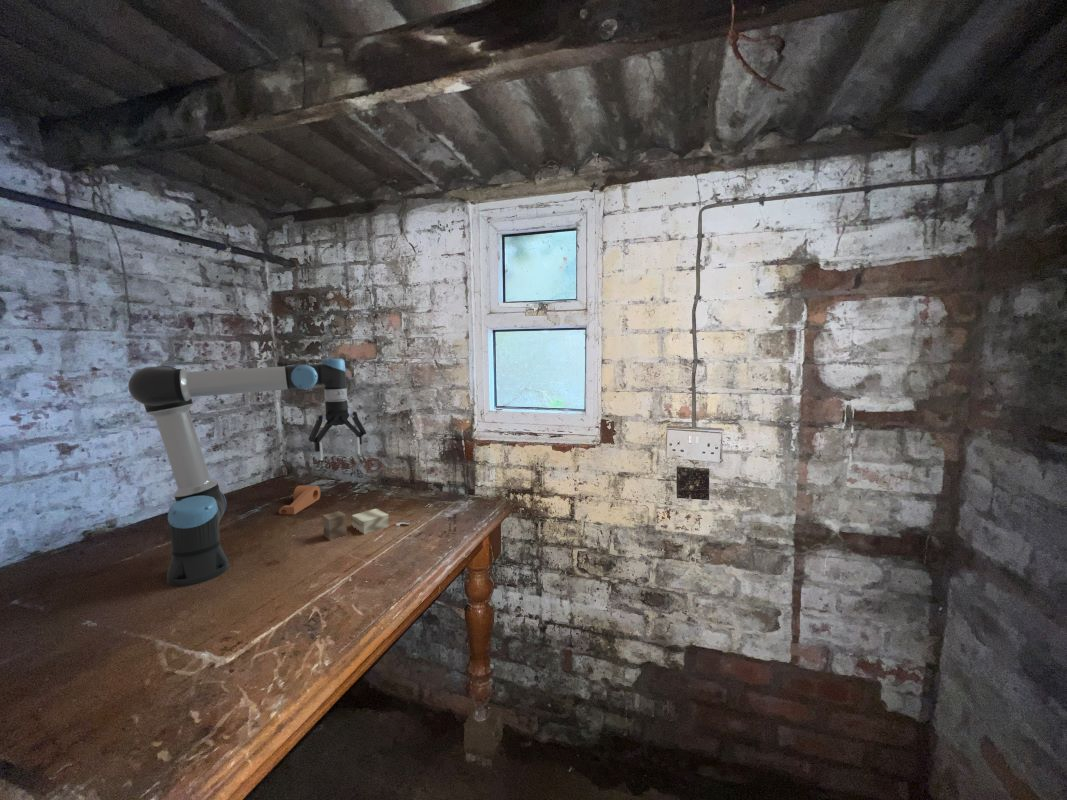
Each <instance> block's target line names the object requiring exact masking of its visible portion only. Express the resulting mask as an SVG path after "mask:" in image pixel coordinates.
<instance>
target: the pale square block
mask: <svg viewBox="0 0 1067 800" xmlns="http://www.w3.org/2000/svg"><path fill="white" fill-rule="evenodd" d="M389 518H390V517H389V514H388V513H386V512H385V511H382V510H380V509H378V508H374V509H373V508H372V509H369V510H366V511H362V512H359V513H354V514H352V515H351V523H352V524H351V525H352V526H353V527H352V528H354V529H355V528H356V530H357V531H358V530H359V531H358V532H360V533H362V534H364V535H366V534H369V532H370V533H372V532H376V531H379V530H381V529H385V528H388V527H390V519H389Z"/></svg>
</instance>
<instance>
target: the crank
mask: <svg viewBox="0 0 1067 800" xmlns="http://www.w3.org/2000/svg"><path fill="white" fill-rule="evenodd" d="M292 495H293V496H292V497H293V502H292V503H290V504H288V505H287V504H286V505H283V506H281V507H280V508H279V509H278V514H279V515H296V514H298V513H300V512H301V511H302V510H304V509H306V508H307V507H309V506H310V505H312V504H314V503H315V502H317V501H319V500H320V499H321V489H320V486H318V485H297V486H296V487H295V489H294V491H293V494H292Z"/></svg>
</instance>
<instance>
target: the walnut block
mask: <svg viewBox="0 0 1067 800" xmlns="http://www.w3.org/2000/svg"><path fill="white" fill-rule="evenodd" d="M322 522H323V523H322V524H323V536H324V535H325V536H326V537H327V538H328V539H327V538H326V537H325V536H324V537H325V538H326V539H327V540H328V541H330V540H331V541H333V540H332V539H334V540H337V539H336V538H338V539H340V538H339V537H341V538H343V536H344V537H347V536H348V534H347V533H348V530H347V529H348V527H347V515H346V514H345V513H344V512H342V511H340V510H338V511H333V512H330V513H326V514H323V515H322ZM346 535H347V536H346Z"/></svg>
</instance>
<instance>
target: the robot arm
mask: <svg viewBox="0 0 1067 800" xmlns="http://www.w3.org/2000/svg"><path fill="white" fill-rule="evenodd" d="M346 371H347V370H346V362H345V360H344V359H343V358H323V359H322V362H321V363H320V364H288V365H285V366H270V367H268V366H267V367H250V368H248V367H247V368H235V369H234V368H231V369H213V370H198V371H195V370H194V371H188V370H186V369H184V368H177V367H174V366H170V365H157V366H147V367H144V368H141V369H138V370H137V371H136V372H134V373H133V374H132V375H131V376H130V379H129V380H128V384H127V386H128V387H127V388H128V391H129V394H130V395H131V397H132V398H133V399H134V400H135V401H137V402H138V403H141V404H143V406H144V409H145V412H146V414H148V415H150V416H153V418H155V421H156V424H157V428H158V431H159V434H160V437H161V440H162V443H163V445H164V449H165V451H166V452H165V453H166V455H167V459H168V461H169V465H170V467H171V470H172V474H173V477H174V480H175V483H176V486H177V489H176V491H175V492H174V494H173V496H174V499H175V502H174V503H172V505H170V506H169V508H168V512H167V522H168V527H169V528H168V529H169V536H170V537H169V538H170V548H171V559H170V563H169V567H168V570H167V573H166V578H165V579H166V583H167V584H168V585H170V586H172V587H188V586H194V585H198V584H202V583H205V582H208V581H211V580H213V579H215V578H218V577H219V576H221V575H223V574H225V572H226V571H228V570H229V567H230V563H229V558H228V557H227V555H226V553H225V552H224V550H223V548H222V547H221V536H220V527H219V526H220V525H219V523H220V522H221V519H222V517H223V515H224V514H225V512H226V509H227V498H226V497H225V495H224V493H223V492H222V491H221V490H220V486H219V483H218V481H216V480H214V479H212V478H211V476H210V474H209V470H208V467H207V464H206V460H205V457H204V454H203V451H202V447H201V444H200V441H199V438H198V434H197V432H196V428H195V426H194V421H193V418H192V416H191V412H190V409H191V407H193V404H194V402H193V399H192V398H196V397H197V398H198V397H199V398H200V397H209V396H210V397H211V396H212V397H213V396H222V395H234V394H246V393H257V392H269V391H270V392H271V391H284V390H296V389H297V390H298V389H302V390H308V389H311V388H313V387H314V386H324V387H323V389H324V400H325V405H324V406H325V408H324V409H325V415H322V414H317V415H316V420H315V423H314V426H313V427H312V430H311V432H310V434H309V437H308V442H311V443H313V444H314V451H315V452H317V459H318V460H319V461H324V453H323V452H324V451H323V442H321V441H322V439H324V437H325V435H326V434H327V432H328V431H329V430H330V429H331V428H332V427H337V426H343V425H345V426H346V427H347V428H348V429H349V430H350V431H351V432H353V434H355V436H354V438H353V440H354V453H355V454H357V455H360V454H361V446H360V445H362V443H363V442H362V440H363V439H362V438H363V436H364V435H366V434H367V431H366V429H365V427H364V426H363V424H362V422H361V420H360V419H359V417H358V413H357V411H353V410H352V411H350V412H349V408H348V407H349V406H348V400H347V399H348V392H347V391H348V390H347V389H348V388H347V387H348V386H347V372H346ZM349 418H352V421H353V422H354V424H355V426H356V427H357V428H356V427H355V426H354V425H353V424H352V423H351V422H350V421H349V420H348V419H349ZM324 420H326V422H325V424H324V426H323V427H322V429H321V430H320V428H321V426H322V424H323V422H324Z"/></svg>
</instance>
